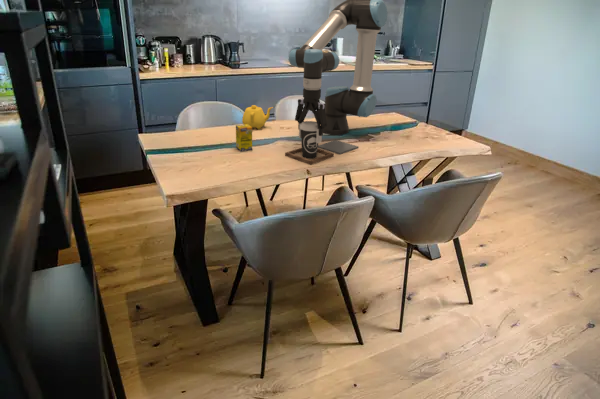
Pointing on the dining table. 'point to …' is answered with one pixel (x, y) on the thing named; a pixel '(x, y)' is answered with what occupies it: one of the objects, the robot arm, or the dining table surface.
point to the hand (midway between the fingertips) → (310, 139)
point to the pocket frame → (291, 155)
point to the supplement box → (243, 137)
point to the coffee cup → (309, 139)
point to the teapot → (255, 116)
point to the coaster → (337, 147)
